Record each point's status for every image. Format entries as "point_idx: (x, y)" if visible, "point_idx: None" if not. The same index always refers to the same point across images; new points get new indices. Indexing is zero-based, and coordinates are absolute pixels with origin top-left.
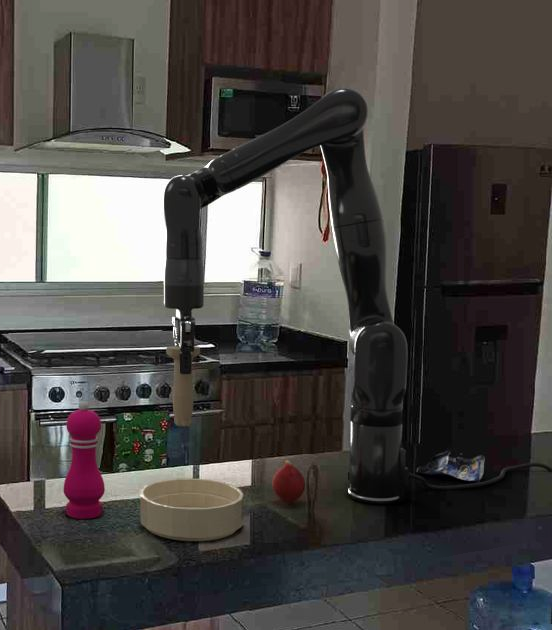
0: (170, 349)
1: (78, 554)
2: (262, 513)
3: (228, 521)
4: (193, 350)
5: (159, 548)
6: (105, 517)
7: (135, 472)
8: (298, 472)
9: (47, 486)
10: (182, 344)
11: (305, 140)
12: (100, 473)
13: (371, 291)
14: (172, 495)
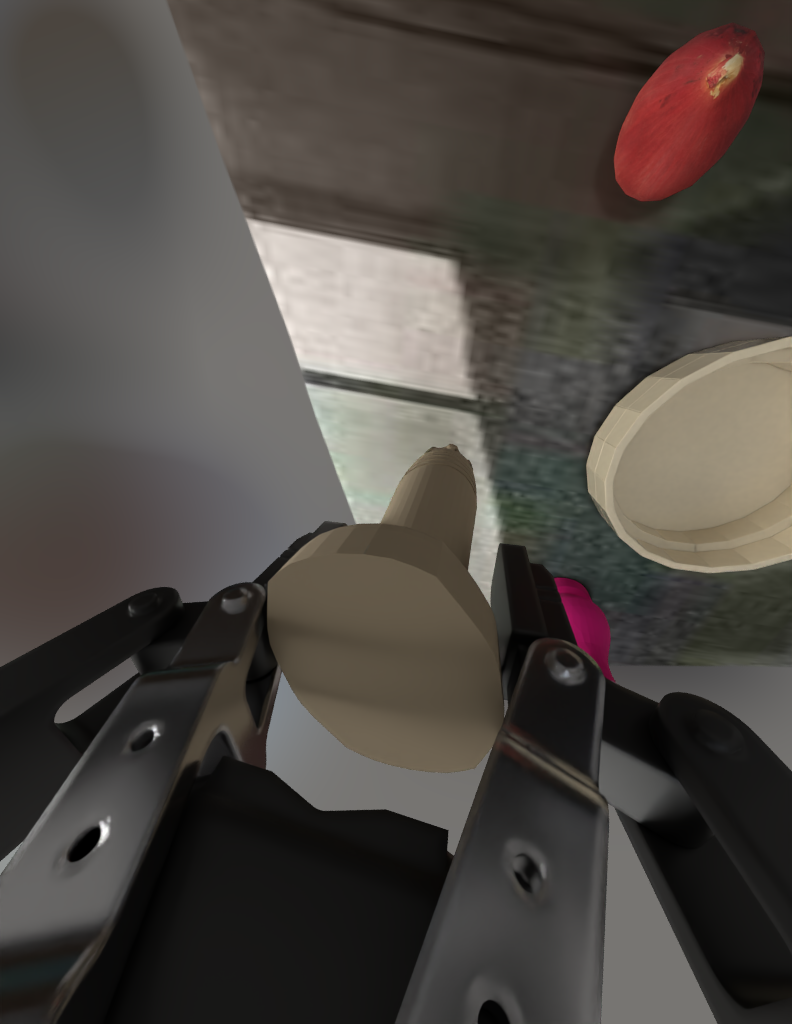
0: (455, 765)
1: (750, 634)
2: (692, 268)
3: None
4: (741, 726)
5: None
6: (588, 575)
7: (350, 495)
8: (753, 35)
9: None
10: (753, 902)
11: None
12: (583, 625)
13: None
14: (613, 485)
